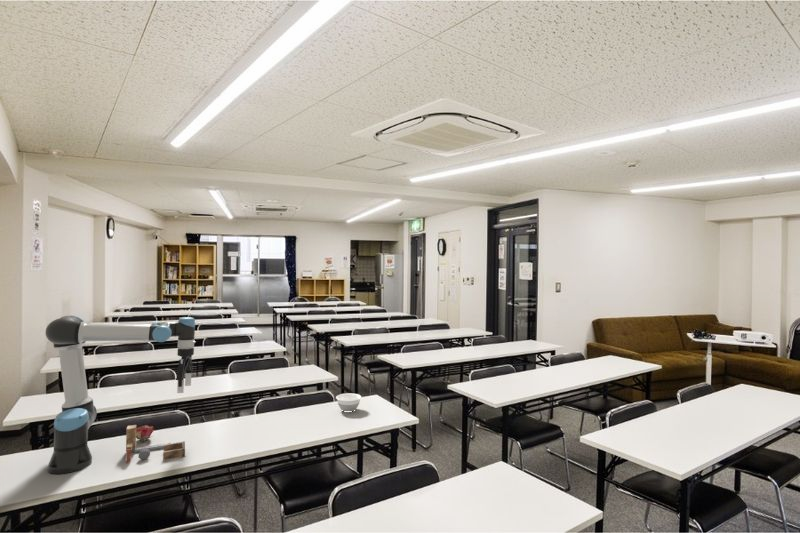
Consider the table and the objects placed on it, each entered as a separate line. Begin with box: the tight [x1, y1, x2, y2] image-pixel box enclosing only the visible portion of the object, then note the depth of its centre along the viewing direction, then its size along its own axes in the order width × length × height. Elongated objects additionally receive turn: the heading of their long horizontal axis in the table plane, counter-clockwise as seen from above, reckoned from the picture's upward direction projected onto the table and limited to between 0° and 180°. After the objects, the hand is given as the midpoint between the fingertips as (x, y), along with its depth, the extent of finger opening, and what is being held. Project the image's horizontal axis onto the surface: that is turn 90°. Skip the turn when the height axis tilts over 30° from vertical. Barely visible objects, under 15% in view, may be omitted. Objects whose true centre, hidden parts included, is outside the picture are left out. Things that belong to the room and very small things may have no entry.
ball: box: [138, 449, 151, 461], centre depth 189 cm, size 4×4×4 cm
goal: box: [162, 440, 186, 461], centre depth 194 cm, size 9×10×4 cm
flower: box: [136, 424, 154, 444], centre depth 209 cm, size 10×9×8 cm
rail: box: [131, 442, 172, 455], centre depth 199 cm, size 18×2×2 cm, turn 118°
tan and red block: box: [125, 424, 137, 463], centre depth 191 cm, size 4×14×12 cm, turn 28°
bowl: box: [335, 392, 362, 411], centre depth 260 cm, size 16×16×9 cm
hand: (184, 389), depth 213 cm, fingers open, 13 cm apart
